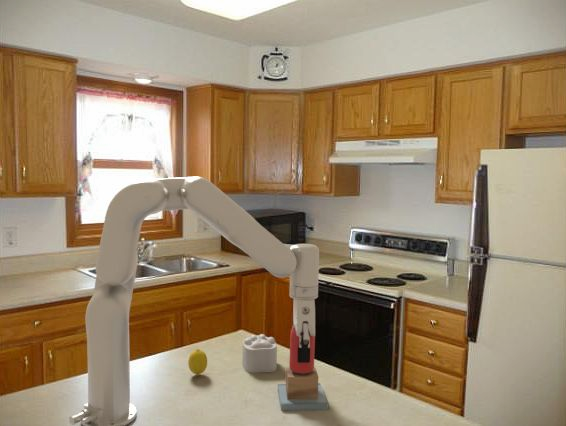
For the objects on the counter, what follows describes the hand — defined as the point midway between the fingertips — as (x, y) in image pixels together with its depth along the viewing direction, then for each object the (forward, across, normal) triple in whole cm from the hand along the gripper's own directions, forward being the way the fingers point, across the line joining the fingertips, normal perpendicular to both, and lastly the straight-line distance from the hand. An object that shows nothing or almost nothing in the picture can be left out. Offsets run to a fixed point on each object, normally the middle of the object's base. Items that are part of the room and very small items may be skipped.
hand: (301, 356), depth 129 cm
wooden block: (+10, 0, 0) cm, 10 cm away
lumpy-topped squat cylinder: (+12, +24, +10) cm, 29 cm away
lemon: (+12, +16, +29) cm, 35 cm away
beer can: (+4, 0, 0) cm, 4 cm away
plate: (+12, 0, 0) cm, 12 cm away
